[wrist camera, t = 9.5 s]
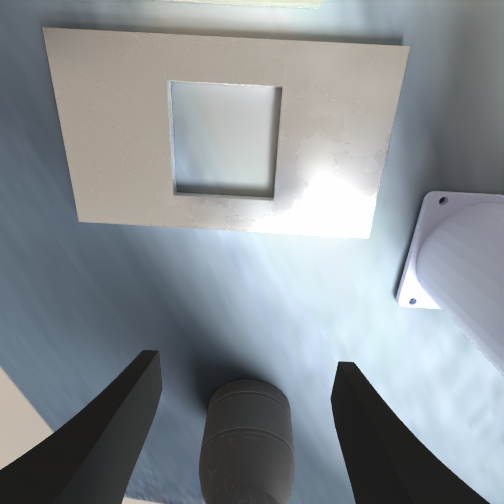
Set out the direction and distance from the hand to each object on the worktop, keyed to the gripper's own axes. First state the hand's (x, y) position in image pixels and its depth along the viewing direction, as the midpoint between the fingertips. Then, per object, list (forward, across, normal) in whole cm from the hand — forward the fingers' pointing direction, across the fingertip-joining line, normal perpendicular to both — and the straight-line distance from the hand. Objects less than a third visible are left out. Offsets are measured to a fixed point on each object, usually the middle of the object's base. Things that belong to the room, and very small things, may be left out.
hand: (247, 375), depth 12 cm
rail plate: (+9, +2, -8) cm, 13 cm away
